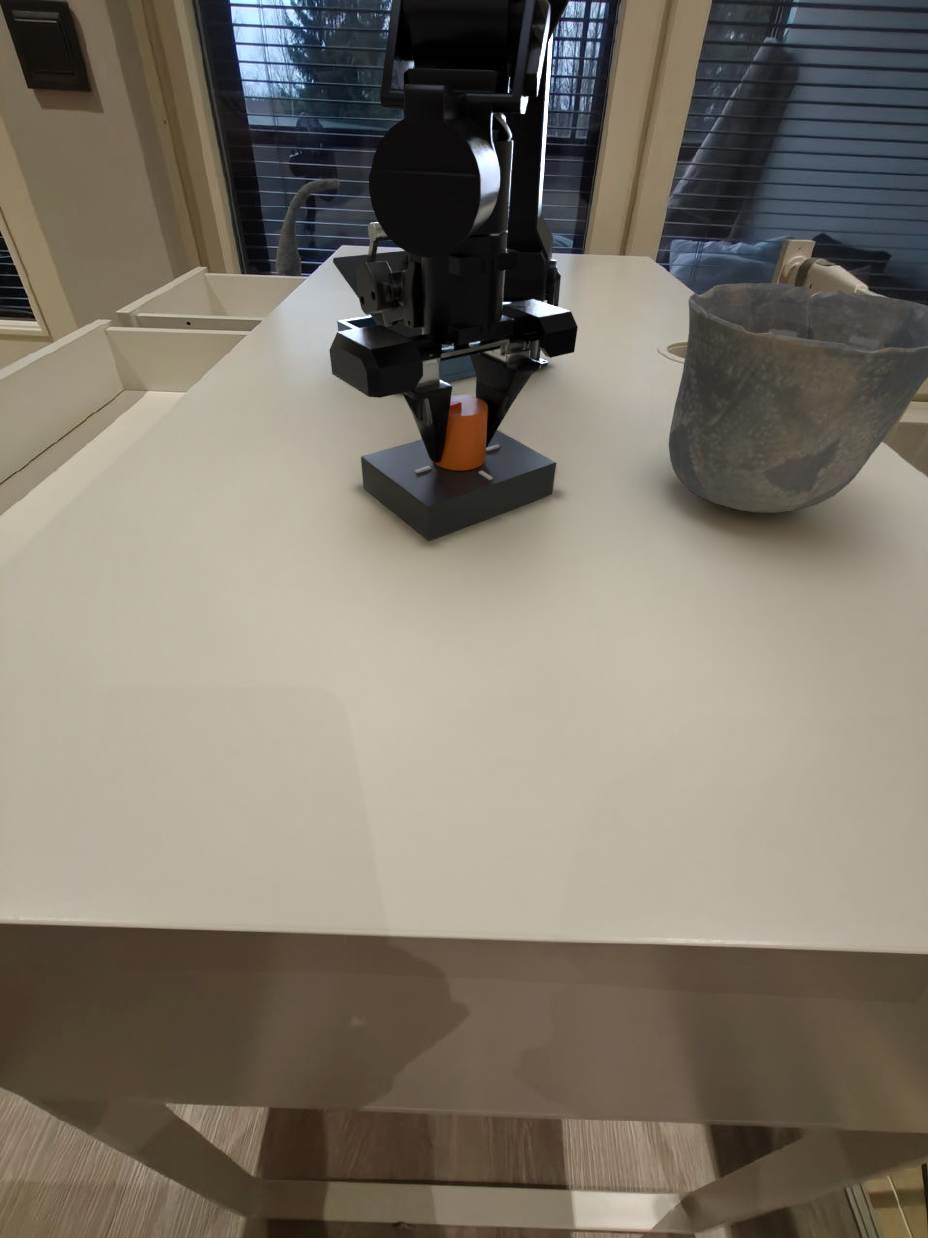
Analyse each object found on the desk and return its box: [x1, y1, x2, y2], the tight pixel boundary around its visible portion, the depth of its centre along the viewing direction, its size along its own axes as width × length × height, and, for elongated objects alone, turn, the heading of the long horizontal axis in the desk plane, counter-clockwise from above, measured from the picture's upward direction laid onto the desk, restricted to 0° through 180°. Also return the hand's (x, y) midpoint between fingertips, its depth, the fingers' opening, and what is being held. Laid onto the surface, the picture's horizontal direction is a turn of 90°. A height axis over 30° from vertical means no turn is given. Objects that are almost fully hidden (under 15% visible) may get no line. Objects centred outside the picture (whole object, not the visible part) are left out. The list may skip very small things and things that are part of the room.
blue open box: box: [336, 315, 476, 383], centre depth 73 cm, size 14×13×5 cm
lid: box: [332, 221, 422, 337], centre depth 67 cm, size 14×13×5 cm
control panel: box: [360, 429, 557, 542], centre depth 50 cm, size 13×10×3 cm
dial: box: [434, 394, 488, 471], centre depth 48 cm, size 4×4×5 cm
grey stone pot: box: [668, 282, 928, 513], centre depth 47 cm, size 18×18×15 cm
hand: (458, 453), depth 49 cm, fingers closed on dial, 4 cm apart
